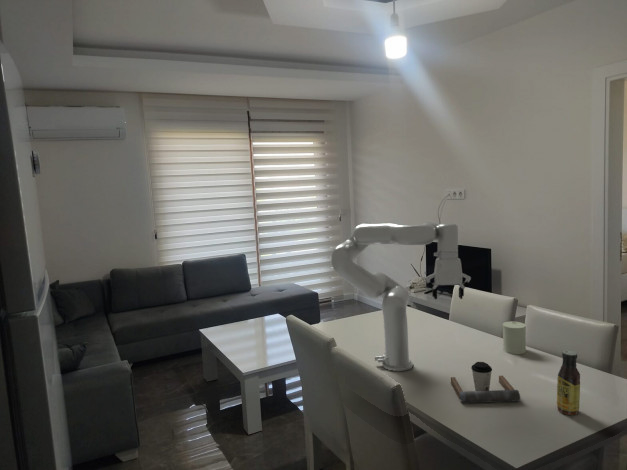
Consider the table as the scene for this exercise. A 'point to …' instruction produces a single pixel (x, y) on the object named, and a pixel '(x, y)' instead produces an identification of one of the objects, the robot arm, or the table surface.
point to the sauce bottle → (568, 385)
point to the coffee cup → (481, 376)
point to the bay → (487, 393)
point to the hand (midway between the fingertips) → (447, 298)
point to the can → (514, 337)
